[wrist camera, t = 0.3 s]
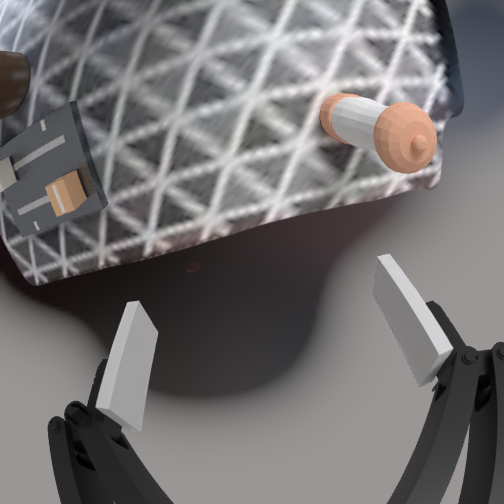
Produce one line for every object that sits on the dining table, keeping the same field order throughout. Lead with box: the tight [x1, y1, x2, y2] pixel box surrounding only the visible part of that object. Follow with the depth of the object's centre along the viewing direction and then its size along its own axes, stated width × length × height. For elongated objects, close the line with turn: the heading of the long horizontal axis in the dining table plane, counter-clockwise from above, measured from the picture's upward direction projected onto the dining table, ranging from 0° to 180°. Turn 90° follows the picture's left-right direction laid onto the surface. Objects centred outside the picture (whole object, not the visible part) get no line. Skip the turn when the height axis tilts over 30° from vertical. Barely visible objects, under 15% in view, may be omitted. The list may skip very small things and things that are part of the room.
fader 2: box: [45, 170, 87, 217], centre depth 32 cm, size 5×4×4 cm
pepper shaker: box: [320, 93, 437, 174], centre depth 26 cm, size 7×7×19 cm
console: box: [0, 101, 108, 237], centre depth 33 cm, size 18×22×2 cm
